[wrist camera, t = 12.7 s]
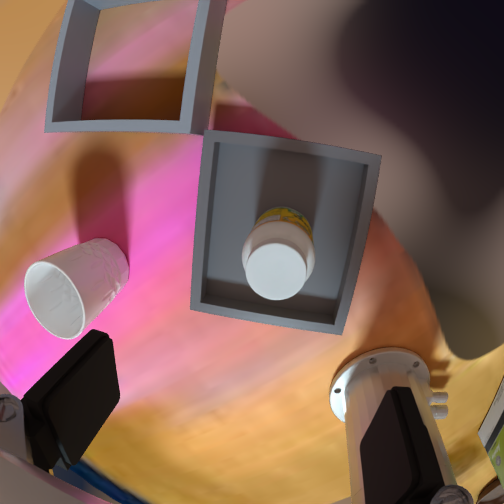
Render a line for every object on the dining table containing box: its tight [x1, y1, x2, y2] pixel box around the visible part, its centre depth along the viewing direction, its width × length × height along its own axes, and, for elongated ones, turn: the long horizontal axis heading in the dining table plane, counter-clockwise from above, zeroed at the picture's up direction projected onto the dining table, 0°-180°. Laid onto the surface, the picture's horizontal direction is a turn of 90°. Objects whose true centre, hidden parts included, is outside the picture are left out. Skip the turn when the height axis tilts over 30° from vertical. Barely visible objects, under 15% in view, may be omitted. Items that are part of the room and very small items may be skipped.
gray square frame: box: [44, 0, 227, 136], centre depth 25 cm, size 16×16×5 cm
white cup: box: [24, 238, 129, 339], centre depth 30 cm, size 8×8×10 cm
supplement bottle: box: [242, 207, 315, 300], centre depth 25 cm, size 5×5×10 cm
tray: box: [190, 130, 382, 335], centre depth 29 cm, size 15×17×3 cm
